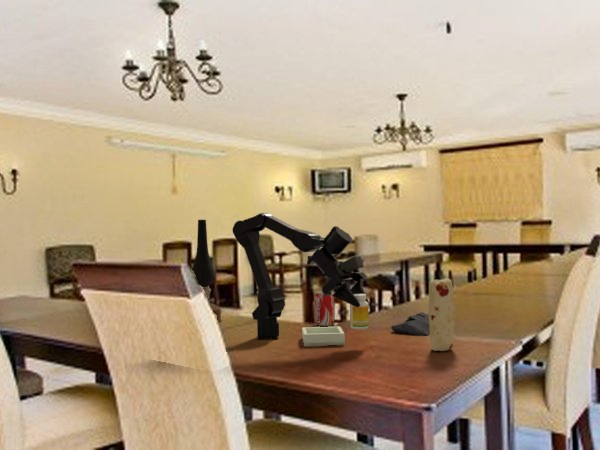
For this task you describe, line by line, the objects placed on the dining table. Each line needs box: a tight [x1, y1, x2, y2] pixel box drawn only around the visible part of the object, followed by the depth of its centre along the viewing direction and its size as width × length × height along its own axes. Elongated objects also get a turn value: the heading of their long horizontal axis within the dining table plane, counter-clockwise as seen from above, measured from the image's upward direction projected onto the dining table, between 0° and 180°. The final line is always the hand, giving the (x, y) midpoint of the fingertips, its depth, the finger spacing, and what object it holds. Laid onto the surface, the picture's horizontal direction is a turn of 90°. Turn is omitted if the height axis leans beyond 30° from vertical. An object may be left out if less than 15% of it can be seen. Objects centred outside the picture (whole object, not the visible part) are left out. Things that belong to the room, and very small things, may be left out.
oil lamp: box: [191, 219, 223, 324], centre depth 205 cm, size 14×15×40 cm
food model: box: [427, 277, 456, 352], centre depth 152 cm, size 10×7×20 cm
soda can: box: [313, 290, 335, 327], centre depth 195 cm, size 7×7×12 cm
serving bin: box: [301, 325, 346, 347], centre depth 166 cm, size 12×12×4 cm
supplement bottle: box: [349, 293, 370, 330], centre depth 157 cm, size 5×5×10 cm
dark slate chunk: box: [390, 312, 430, 337], centre depth 184 cm, size 15×22×5 cm
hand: (363, 305), depth 156 cm, fingers closed on supplement bottle, 5 cm apart
